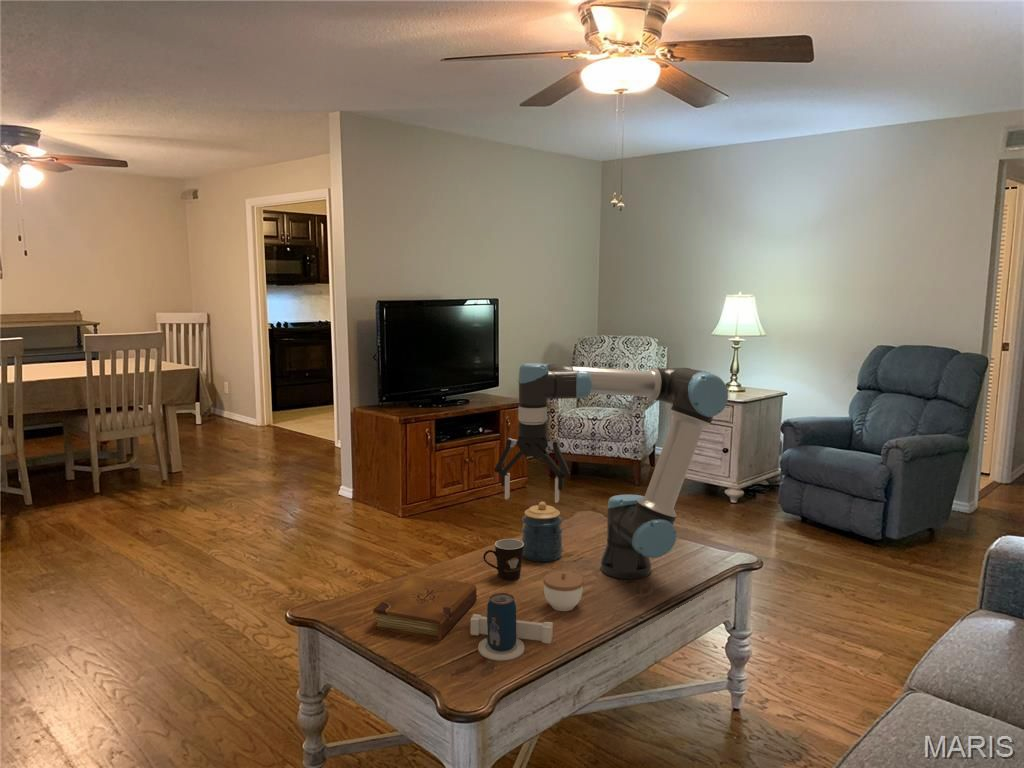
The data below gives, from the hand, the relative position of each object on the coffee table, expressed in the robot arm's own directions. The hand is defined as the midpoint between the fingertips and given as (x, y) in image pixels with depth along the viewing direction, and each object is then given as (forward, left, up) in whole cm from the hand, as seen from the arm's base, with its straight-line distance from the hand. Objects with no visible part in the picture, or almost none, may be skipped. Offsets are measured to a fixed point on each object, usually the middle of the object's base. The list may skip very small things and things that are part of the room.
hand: (531, 499), depth 192 cm
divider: (+1, +21, -29) cm, 35 cm away
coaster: (+2, +27, -29) cm, 39 cm away
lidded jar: (-9, +1, -29) cm, 30 cm away
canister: (+3, -34, -29) cm, 45 cm away
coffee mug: (+11, -15, -29) cm, 34 cm away
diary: (+25, +14, -29) cm, 41 cm away
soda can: (+2, +27, -28) cm, 39 cm away
